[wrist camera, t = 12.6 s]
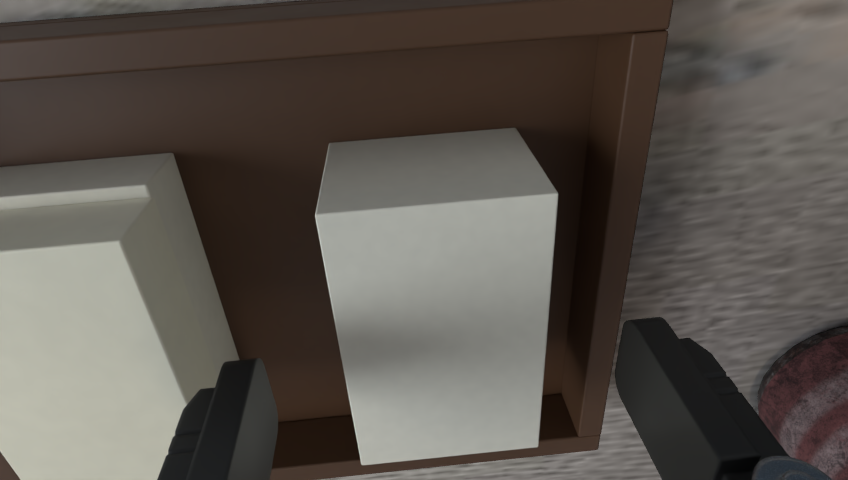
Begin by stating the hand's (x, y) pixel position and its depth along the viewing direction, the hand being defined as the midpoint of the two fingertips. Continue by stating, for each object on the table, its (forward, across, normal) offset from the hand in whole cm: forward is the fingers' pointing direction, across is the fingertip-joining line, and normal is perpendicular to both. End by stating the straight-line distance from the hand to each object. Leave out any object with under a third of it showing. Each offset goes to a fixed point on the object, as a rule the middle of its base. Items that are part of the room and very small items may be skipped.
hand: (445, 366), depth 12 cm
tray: (+6, +4, 0) cm, 7 cm away
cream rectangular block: (+5, 0, 0) cm, 5 cm away
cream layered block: (+5, +9, 0) cm, 10 cm away
